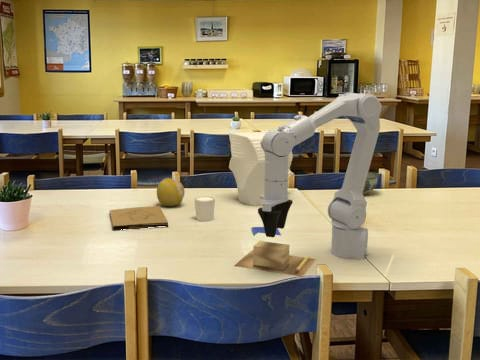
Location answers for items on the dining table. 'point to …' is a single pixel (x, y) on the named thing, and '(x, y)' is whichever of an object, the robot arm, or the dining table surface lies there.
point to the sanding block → (271, 255)
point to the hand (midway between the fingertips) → (275, 232)
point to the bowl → (370, 182)
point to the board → (293, 264)
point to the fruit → (170, 192)
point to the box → (137, 218)
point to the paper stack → (249, 166)
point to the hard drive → (262, 230)
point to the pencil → (302, 264)
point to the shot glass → (204, 208)
